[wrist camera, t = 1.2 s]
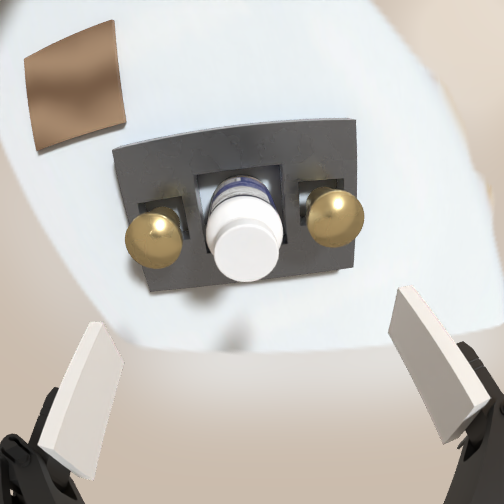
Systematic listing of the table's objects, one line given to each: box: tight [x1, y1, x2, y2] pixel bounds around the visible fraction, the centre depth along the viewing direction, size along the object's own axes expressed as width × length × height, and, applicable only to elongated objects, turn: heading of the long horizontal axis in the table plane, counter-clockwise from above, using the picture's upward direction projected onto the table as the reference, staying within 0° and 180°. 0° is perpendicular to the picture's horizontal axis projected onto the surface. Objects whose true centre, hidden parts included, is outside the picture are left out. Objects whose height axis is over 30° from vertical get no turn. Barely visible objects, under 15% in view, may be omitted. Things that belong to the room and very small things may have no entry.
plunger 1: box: [125, 206, 183, 269], centre depth 23 cm, size 4×4×4 cm
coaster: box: [24, 20, 126, 151], centre depth 20 cm, size 10×10×1 cm
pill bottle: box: [206, 175, 283, 282], centre depth 23 cm, size 5×5×10 cm
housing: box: [112, 118, 357, 292], centre depth 26 cm, size 14×20×2 cm
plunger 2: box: [306, 187, 364, 248], centre depth 23 cm, size 4×4×4 cm
